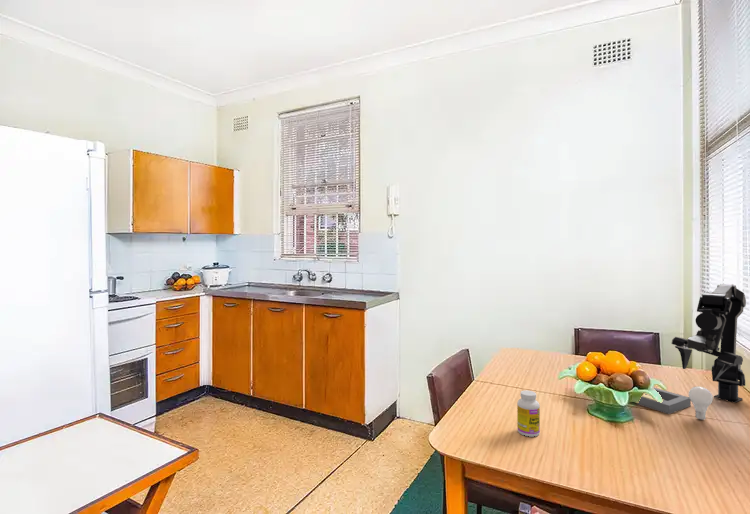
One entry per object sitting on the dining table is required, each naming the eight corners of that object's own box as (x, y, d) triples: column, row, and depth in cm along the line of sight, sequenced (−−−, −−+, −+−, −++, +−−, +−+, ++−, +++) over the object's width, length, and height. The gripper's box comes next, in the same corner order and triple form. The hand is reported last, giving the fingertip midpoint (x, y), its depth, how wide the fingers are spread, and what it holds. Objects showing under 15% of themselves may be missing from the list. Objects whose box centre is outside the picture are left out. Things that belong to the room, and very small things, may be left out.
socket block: (652, 394, 160) (652, 386, 160) (690, 406, 149) (690, 396, 148) (630, 401, 154) (630, 393, 153) (669, 414, 142) (669, 404, 142)
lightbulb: (717, 424, 134) (717, 390, 133) (695, 423, 135) (695, 389, 135) (705, 416, 140) (705, 384, 139) (684, 415, 141) (684, 383, 141)
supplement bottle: (529, 439, 126) (528, 398, 126) (512, 431, 132) (512, 391, 132) (544, 434, 129) (544, 394, 129) (527, 426, 135) (527, 387, 135)
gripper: (668, 319, 144) (656, 362, 145) (732, 337, 127) (718, 385, 129) (686, 322, 149) (674, 364, 150) (749, 340, 132) (735, 386, 133)
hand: (698, 374), depth 140 cm, fingers open, 9 cm apart
